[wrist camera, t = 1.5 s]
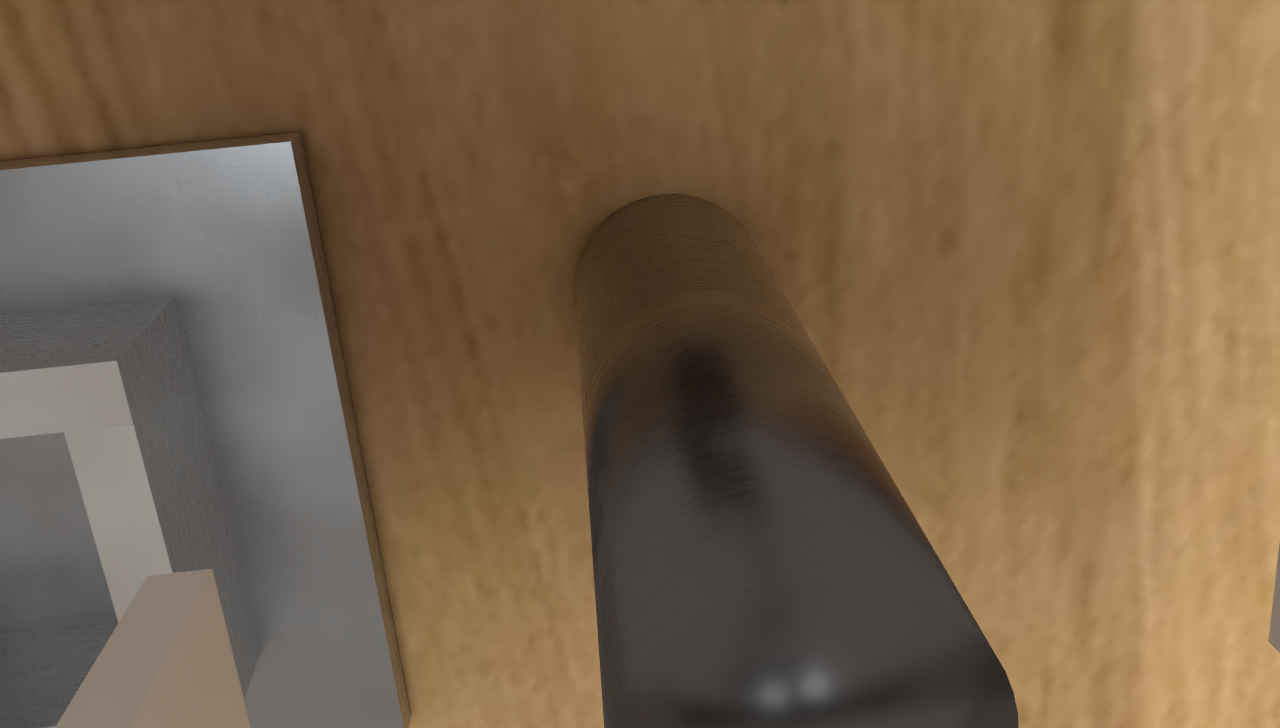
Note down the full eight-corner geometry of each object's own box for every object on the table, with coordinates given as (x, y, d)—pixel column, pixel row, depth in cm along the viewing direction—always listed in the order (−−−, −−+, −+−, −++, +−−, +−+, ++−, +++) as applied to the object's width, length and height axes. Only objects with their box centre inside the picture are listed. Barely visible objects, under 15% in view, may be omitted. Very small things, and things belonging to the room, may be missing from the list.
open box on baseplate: (-428, 203, 23) (-640, 271, 19) (300, 131, 24) (248, 182, 20) (-137, 897, 30) (-249, 1062, 26) (432, 830, 30) (414, 980, 26)
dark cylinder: (564, 204, 25) (587, 605, 11) (758, 185, 25) (1025, 556, 11) (585, 384, 26) (627, 941, 12) (767, 364, 26) (1012, 894, 13)
